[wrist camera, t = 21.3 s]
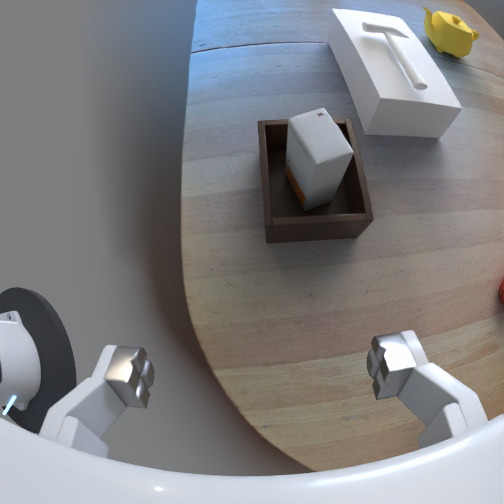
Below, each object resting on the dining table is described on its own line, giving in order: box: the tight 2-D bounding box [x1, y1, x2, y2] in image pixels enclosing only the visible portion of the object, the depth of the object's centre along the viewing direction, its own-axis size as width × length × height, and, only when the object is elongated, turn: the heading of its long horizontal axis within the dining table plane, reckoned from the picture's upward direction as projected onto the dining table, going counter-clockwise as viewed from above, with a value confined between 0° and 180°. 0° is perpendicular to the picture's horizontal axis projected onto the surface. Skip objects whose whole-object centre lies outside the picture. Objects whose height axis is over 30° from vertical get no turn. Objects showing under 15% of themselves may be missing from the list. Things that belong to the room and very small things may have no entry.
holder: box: [258, 119, 373, 243], centre depth 34 cm, size 12×14×7 cm
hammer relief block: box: [328, 9, 462, 138], centre depth 36 cm, size 14×25×11 cm, turn 5°
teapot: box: [423, 7, 479, 58], centre depth 40 cm, size 18×11×11 cm, turn 90°
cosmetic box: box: [285, 108, 354, 211], centre depth 31 cm, size 6×4×12 cm
